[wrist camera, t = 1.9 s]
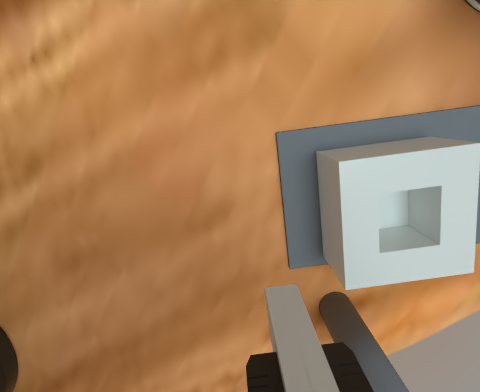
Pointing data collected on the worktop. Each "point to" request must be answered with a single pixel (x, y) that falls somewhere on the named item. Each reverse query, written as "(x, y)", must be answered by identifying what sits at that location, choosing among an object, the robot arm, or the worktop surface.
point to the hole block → (399, 210)
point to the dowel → (359, 342)
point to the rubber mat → (341, 136)
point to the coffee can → (474, 3)
